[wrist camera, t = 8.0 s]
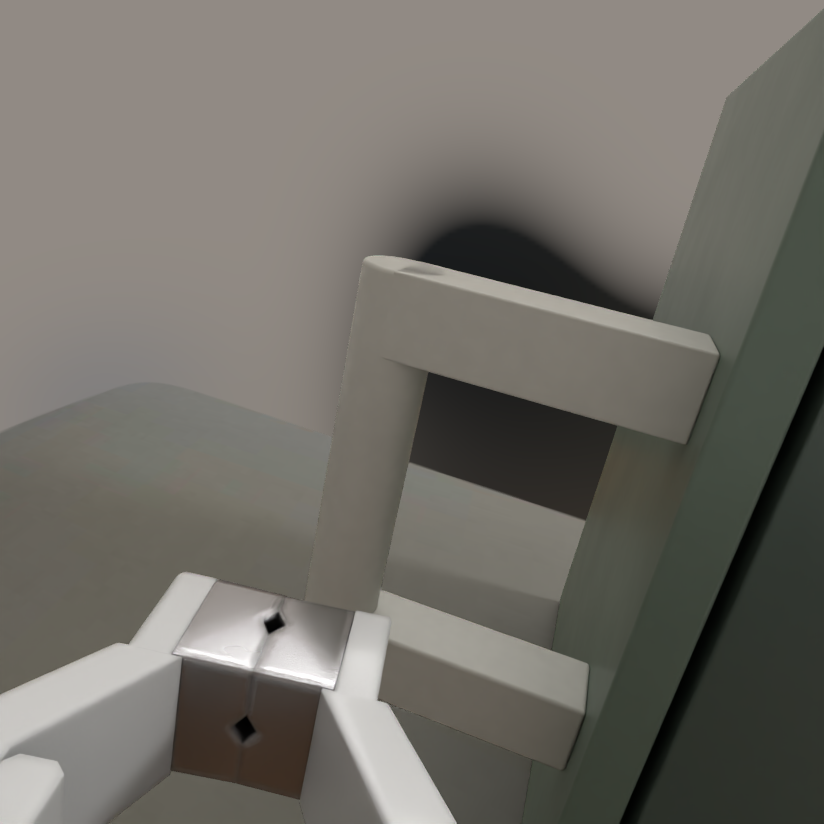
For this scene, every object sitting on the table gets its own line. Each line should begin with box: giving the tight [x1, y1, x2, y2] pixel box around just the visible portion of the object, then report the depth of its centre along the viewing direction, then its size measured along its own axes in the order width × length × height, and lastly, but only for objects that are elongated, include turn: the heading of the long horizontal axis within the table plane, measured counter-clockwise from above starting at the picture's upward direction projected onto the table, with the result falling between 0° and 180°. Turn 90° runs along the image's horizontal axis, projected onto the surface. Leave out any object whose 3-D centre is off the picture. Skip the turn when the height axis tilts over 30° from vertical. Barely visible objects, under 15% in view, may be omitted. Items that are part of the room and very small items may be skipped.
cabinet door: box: [304, 9, 824, 824], centre depth 19 cm, size 7×16×20 cm, turn 163°
